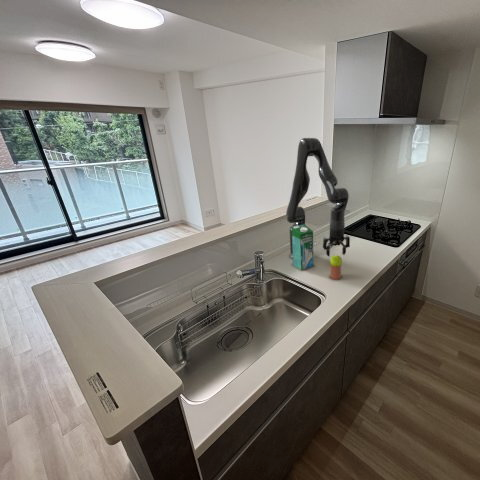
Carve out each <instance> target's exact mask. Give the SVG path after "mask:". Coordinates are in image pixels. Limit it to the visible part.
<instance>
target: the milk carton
mask: <svg viewBox="0 0 480 480" xmlns="http://www.w3.org/2000/svg"><path fill="white" fill-rule="evenodd" d="M292 250H293V258H292V265H293V267H296V268H297V269H298V270H300V271H303V270H306V269H309V268H311V267H314V231H313V230H312V229H311V227H308V226H307V225H306V223H305V224H302V225H298V226H294V227H292Z"/></svg>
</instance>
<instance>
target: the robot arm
mask: <svg viewBox="0 0 480 480" xmlns="http://www.w3.org/2000/svg"><path fill="white" fill-rule="evenodd" d="M320 141H321V140H320V139H318V138H316V137H302V138H301V139H300V140H299V142H298V147H297V156H296V165H295V172H294V176H293V181H292V187H291V193H290V196H289V197H290V198H289V201H288V204H287V207H286V212H285V218H286V221H287V222H288V223H290V224H292V225H290V227H289V230H288V231H289V251H290V254H289V256H290V258H291V259H293V250H292V227H294V226H298V225H302V224H305V225H306V211H305V208H303V206H299V205H300V203H301V201H302V200H303V199H304V197H306V195H307V193H308V191H309V187H310V182H311V177H310V173H309V171H308V168H307V162H308V158H309V157H314V159H315V160H316V161H317V165H318V170H317V171H318V176H319V178H320V180H321V182H322V184H323V186H324V189H325V193H326V197H327V200H328V201H329V203H331V204H334V205H333V207H331V209H330V218H329V219H330V220H329V237H323V238H322V239H323V240H322V241H323V242H322V248H323V250H325V251H326V252H325V254H326V256H327V257H330V255H331V248H333V247H336V246H342V248H341V254H342V255H343V256H345V255H346V253H347V248H350V246H351V244H350V243H351V239H350V238H351V237H350V236H348V235H346V236H345V227H346V226H345V225H346V224H345V223H346V222H345V214H346V213H345V211H346V208H347V205H348V202H349V197H350V194H349V191H348V189H347V188H345V187H339V188H338V187H337V188H336V186H337V185H338V183H339V181H338V178H337V177H336V175H335V173H334V172H333V170H332V168H331V166H330V163H329V162H328V159H327V156H326V154H325V150H324V147H323V145H322V143H321V142H320ZM344 241H345V243H344Z"/></svg>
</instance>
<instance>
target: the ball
mask: <svg viewBox="0 0 480 480" xmlns="http://www.w3.org/2000/svg"><path fill="white" fill-rule="evenodd" d="M342 262H343V259H342V257H341V256H340V255H337V254H334V255H332V256H331V257H330V259H329V264H330V266H331V265H332V266H340V265H341V266H342Z"/></svg>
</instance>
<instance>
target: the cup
mask: <svg viewBox="0 0 480 480" xmlns="http://www.w3.org/2000/svg"><path fill="white" fill-rule="evenodd" d="M329 271H330V272H329V277H330V279H332V280H340V279H341V277H342V264H341V265H340V266H332V265H331V264H330V270H329Z"/></svg>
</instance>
